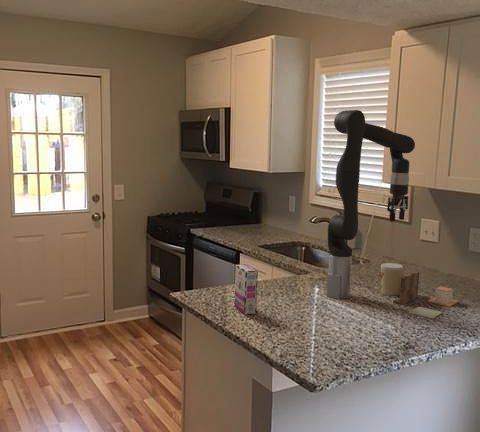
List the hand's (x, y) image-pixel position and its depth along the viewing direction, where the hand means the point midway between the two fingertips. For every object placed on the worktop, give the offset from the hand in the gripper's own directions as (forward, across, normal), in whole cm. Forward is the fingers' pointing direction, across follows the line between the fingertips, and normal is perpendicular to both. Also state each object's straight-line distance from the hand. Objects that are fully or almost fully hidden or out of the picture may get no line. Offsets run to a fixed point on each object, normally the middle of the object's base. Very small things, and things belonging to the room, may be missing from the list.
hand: (396, 220), depth 227 cm
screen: (+30, -14, -13) cm, 36 cm away
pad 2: (+30, -5, -25) cm, 39 cm away
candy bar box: (+30, -72, +22) cm, 81 cm away
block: (+29, -5, -25) cm, 39 cm away
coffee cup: (+30, -10, -4) cm, 32 cm away
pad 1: (+30, -24, -26) cm, 47 cm away
